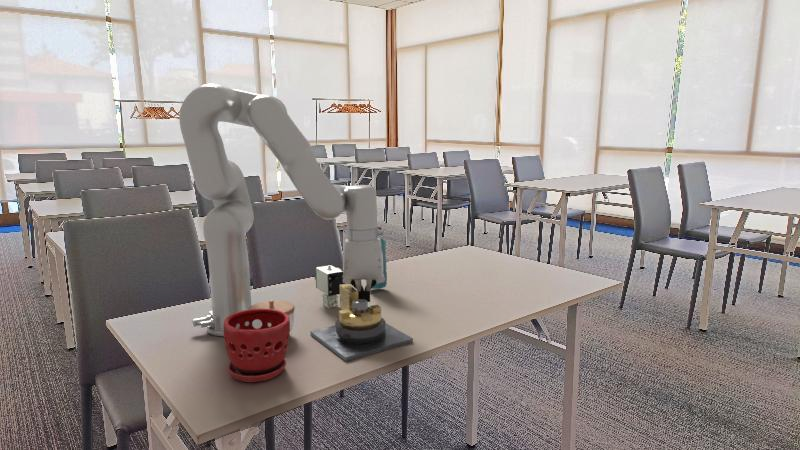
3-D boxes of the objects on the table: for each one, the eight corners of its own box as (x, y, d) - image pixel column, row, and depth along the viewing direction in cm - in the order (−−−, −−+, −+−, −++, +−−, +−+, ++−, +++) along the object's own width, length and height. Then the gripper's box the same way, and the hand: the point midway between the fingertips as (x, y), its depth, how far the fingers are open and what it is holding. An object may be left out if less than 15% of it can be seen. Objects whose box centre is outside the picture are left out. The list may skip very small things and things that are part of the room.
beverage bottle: (390, 292, 161) (389, 228, 157) (369, 294, 158) (368, 230, 154) (382, 286, 167) (382, 224, 163) (363, 288, 164) (361, 226, 160)
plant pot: (239, 394, 99) (235, 335, 97) (218, 369, 110) (214, 315, 108) (302, 375, 107) (299, 320, 105) (276, 353, 117) (274, 302, 115)
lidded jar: (304, 337, 126) (302, 300, 125) (264, 350, 119) (262, 311, 117) (280, 325, 134) (279, 290, 132) (242, 337, 127) (239, 300, 125)
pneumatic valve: (331, 314, 142) (330, 271, 140) (314, 302, 152) (313, 262, 150) (349, 310, 145) (348, 268, 143) (332, 298, 155) (330, 259, 152)
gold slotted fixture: (387, 325, 122) (387, 300, 121) (347, 332, 118) (346, 307, 117) (362, 303, 137) (362, 281, 136) (325, 309, 133) (325, 286, 132)
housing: (345, 361, 113) (345, 344, 112) (309, 334, 128) (309, 319, 127) (412, 342, 123) (412, 326, 122) (372, 319, 138) (371, 304, 137)
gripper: (392, 231, 134) (393, 299, 137) (334, 232, 134) (336, 300, 137) (392, 237, 127) (393, 309, 130) (330, 238, 126) (333, 310, 130)
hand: (364, 304), depth 134 cm, fingers closed
